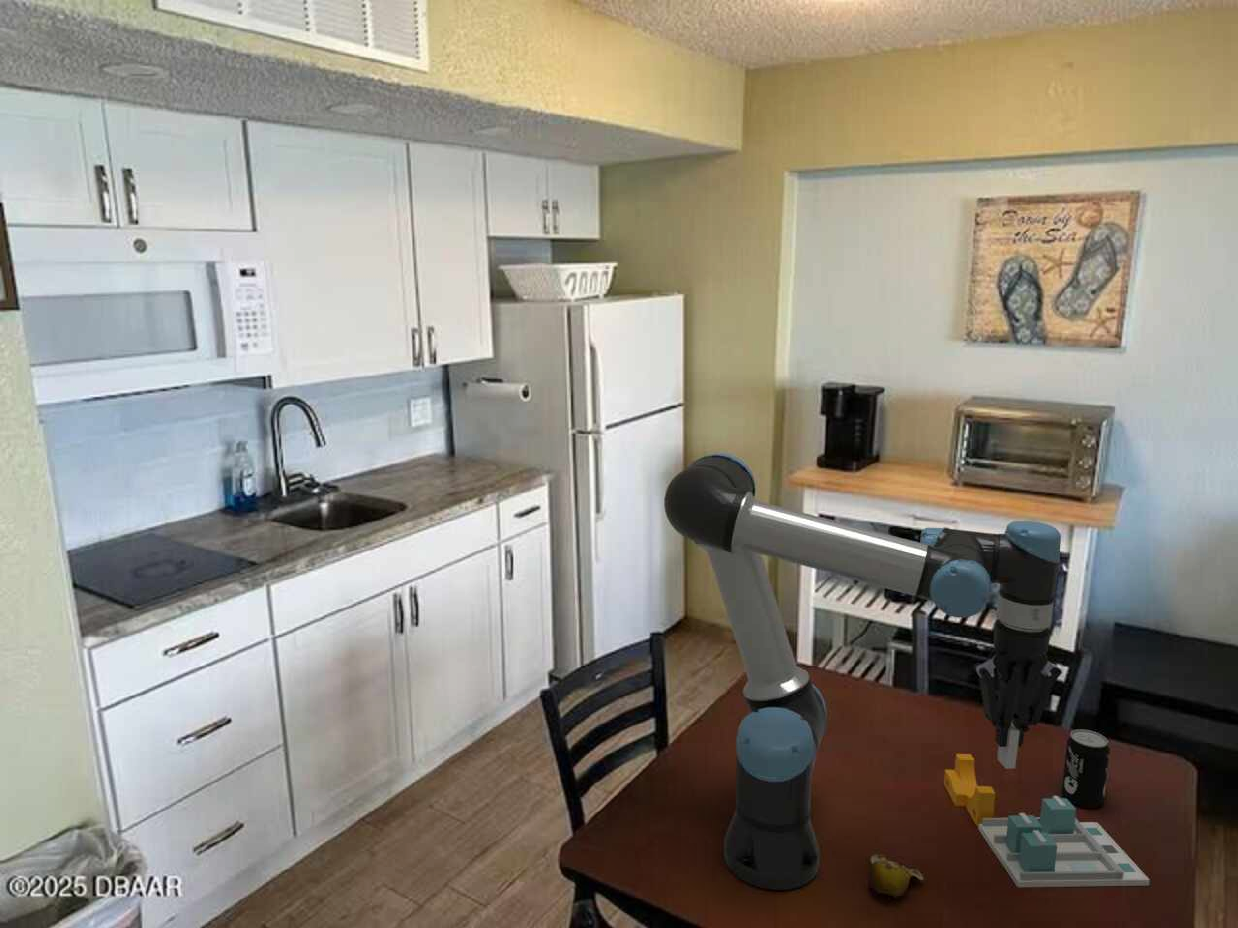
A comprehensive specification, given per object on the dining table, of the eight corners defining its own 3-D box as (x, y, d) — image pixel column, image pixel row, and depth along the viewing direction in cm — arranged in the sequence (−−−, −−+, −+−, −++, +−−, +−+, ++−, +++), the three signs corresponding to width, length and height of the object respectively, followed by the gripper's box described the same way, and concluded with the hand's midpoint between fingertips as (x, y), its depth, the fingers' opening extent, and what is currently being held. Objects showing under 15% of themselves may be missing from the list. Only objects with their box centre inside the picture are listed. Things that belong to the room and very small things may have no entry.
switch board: (1017, 887, 126) (1019, 874, 126) (978, 828, 140) (979, 817, 139) (1148, 885, 126) (1150, 872, 126) (1096, 827, 140) (1097, 815, 140)
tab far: (1048, 836, 136) (1051, 806, 135) (1039, 825, 139) (1042, 795, 137) (1073, 836, 136) (1076, 805, 135) (1063, 825, 139) (1066, 794, 137)
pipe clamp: (943, 785, 153) (946, 753, 151) (967, 786, 152) (970, 754, 151) (966, 826, 141) (968, 792, 140) (992, 827, 141) (995, 792, 139)
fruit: (926, 875, 128) (927, 855, 127) (909, 910, 122) (910, 889, 121) (873, 854, 133) (874, 834, 132) (854, 886, 127) (855, 866, 126)
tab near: (1028, 874, 127) (1031, 841, 126) (1018, 861, 130) (1021, 829, 129) (1054, 874, 127) (1057, 841, 126) (1044, 860, 130) (1047, 829, 129)
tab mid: (1014, 855, 131) (1017, 823, 130) (1005, 843, 134) (1008, 812, 133) (1039, 855, 131) (1042, 823, 130) (1030, 842, 134) (1033, 811, 133)
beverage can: (1102, 814, 143) (1110, 751, 141) (1059, 802, 147) (1066, 740, 144) (1104, 795, 149) (1111, 734, 146) (1062, 784, 152) (1069, 724, 150)
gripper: (993, 633, 122) (976, 778, 127) (1079, 633, 123) (1059, 776, 128) (969, 614, 129) (955, 751, 134) (1051, 613, 130) (1033, 749, 135)
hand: (1006, 763), depth 131 cm, fingers closed
